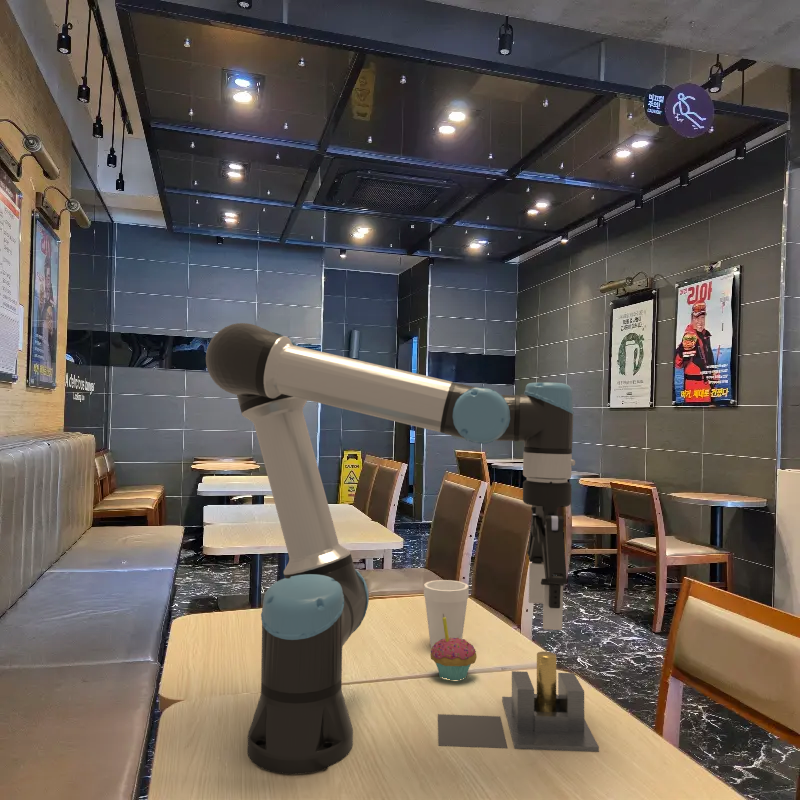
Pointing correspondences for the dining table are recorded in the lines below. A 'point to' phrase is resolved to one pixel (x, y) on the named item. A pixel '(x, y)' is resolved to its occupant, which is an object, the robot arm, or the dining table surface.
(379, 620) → the dining table surface
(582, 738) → the bracket
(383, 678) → the dining table surface
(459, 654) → the cupcake
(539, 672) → the peg
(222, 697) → the dining table surface
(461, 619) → the foam cup
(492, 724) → the mat
